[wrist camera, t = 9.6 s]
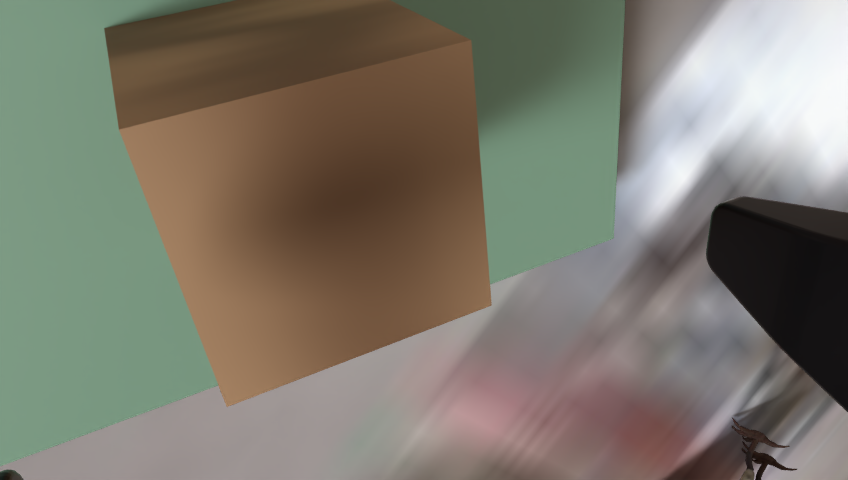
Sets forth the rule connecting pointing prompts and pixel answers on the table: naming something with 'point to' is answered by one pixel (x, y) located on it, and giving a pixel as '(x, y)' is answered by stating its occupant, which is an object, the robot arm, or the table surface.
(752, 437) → the decorative bird
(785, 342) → the robot arm
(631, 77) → the table surface
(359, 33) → the walnut block
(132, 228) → the green book
